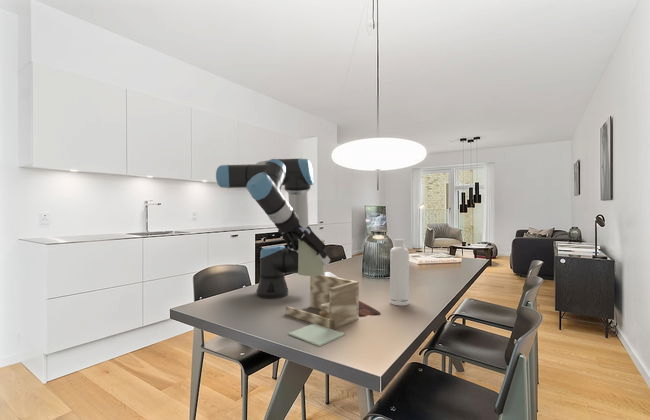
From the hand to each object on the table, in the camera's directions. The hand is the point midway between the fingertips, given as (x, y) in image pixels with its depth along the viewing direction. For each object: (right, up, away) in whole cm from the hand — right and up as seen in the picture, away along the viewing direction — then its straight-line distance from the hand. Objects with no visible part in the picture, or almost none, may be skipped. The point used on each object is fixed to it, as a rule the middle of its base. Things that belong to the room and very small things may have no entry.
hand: (317, 261), depth 115 cm
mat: (0, -23, -8) cm, 24 cm away
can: (-2, -4, -2) cm, 5 cm away
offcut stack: (+6, -23, +5) cm, 24 cm away
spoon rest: (+6, -23, +57) cm, 62 cm away
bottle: (+35, -23, +29) cm, 51 cm away
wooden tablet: (+16, -24, +24) cm, 37 cm away
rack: (+1, -23, +10) cm, 25 cm away
